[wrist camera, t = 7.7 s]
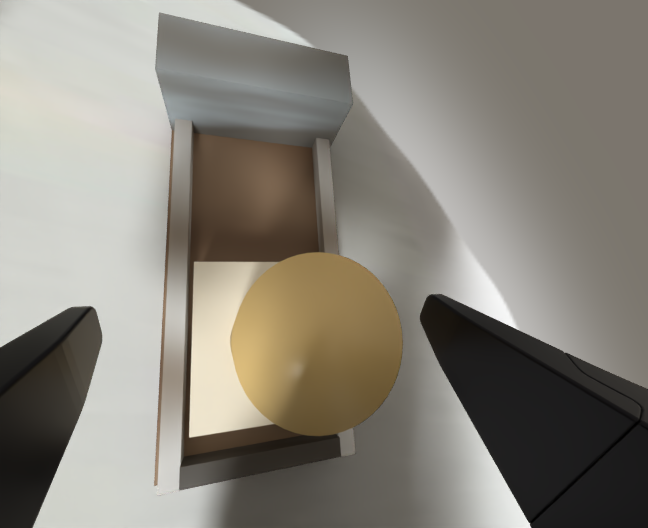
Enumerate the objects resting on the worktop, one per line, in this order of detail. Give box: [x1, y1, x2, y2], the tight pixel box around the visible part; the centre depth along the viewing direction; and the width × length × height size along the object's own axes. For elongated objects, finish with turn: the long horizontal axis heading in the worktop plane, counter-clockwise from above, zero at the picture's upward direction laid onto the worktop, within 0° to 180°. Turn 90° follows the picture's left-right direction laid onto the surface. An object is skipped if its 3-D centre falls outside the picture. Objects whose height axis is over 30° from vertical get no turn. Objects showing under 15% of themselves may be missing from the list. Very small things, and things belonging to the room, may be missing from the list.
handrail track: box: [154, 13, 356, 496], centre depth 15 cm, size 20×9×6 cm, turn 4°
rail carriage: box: [189, 252, 403, 438], centre depth 10 cm, size 7×6×11 cm
